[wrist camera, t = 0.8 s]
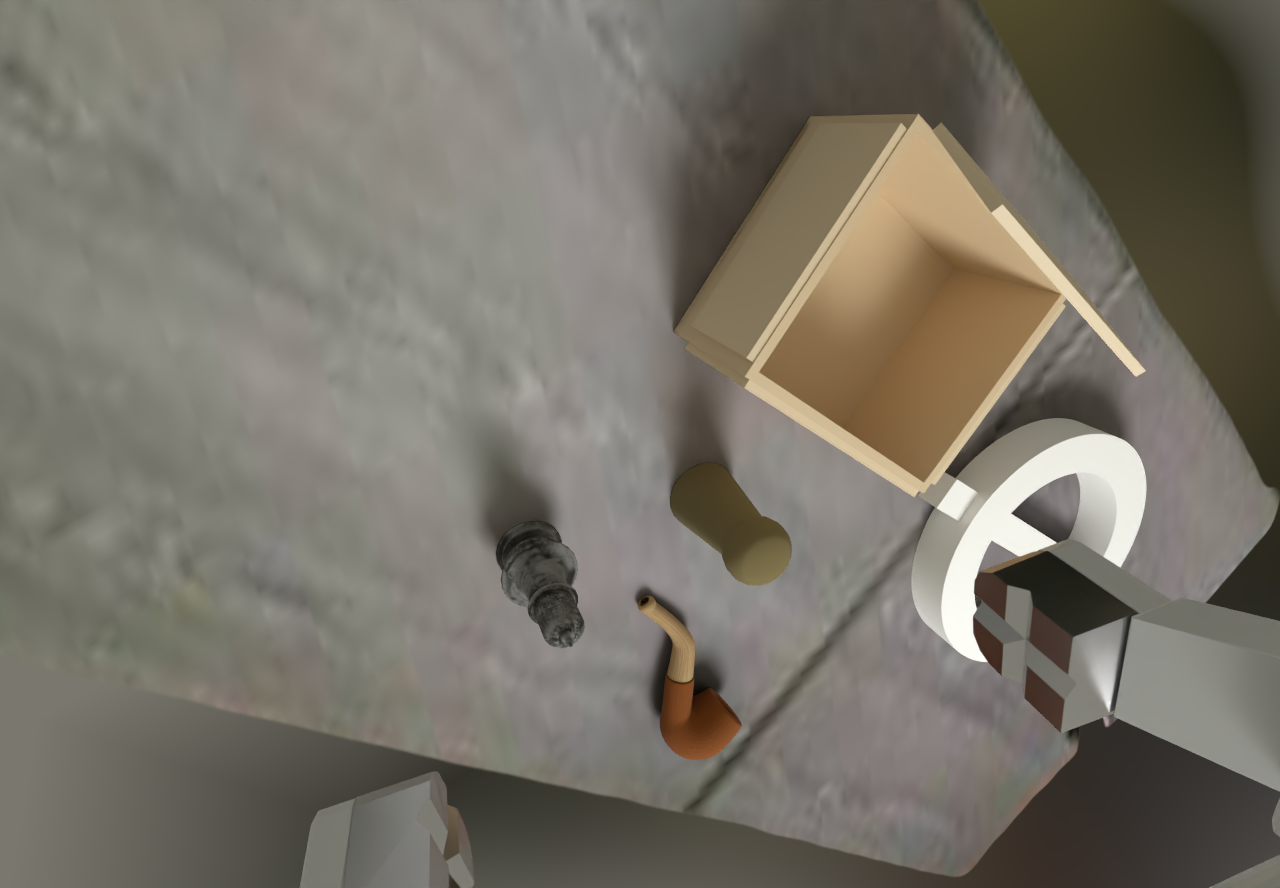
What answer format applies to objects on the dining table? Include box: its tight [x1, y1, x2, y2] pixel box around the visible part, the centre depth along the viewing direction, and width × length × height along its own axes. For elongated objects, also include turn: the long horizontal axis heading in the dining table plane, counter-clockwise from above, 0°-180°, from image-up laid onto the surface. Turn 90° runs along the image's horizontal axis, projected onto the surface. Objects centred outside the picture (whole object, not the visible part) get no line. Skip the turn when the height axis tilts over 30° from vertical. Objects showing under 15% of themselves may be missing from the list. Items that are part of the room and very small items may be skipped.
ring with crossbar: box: [912, 418, 1146, 662], centre depth 76 cm, size 28×28×5 cm
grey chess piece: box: [496, 521, 584, 648], centre depth 50 cm, size 6×6×12 cm
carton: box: [673, 114, 1066, 497], centre depth 51 cm, size 19×21×11 cm
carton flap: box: [932, 123, 1145, 376], centre depth 41 cm, size 1×18×9 cm, turn 56°
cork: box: [670, 463, 792, 585], centre depth 54 cm, size 6×6×11 cm
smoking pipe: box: [638, 596, 742, 760], centre depth 63 cm, size 7×18×6 cm, turn 24°
